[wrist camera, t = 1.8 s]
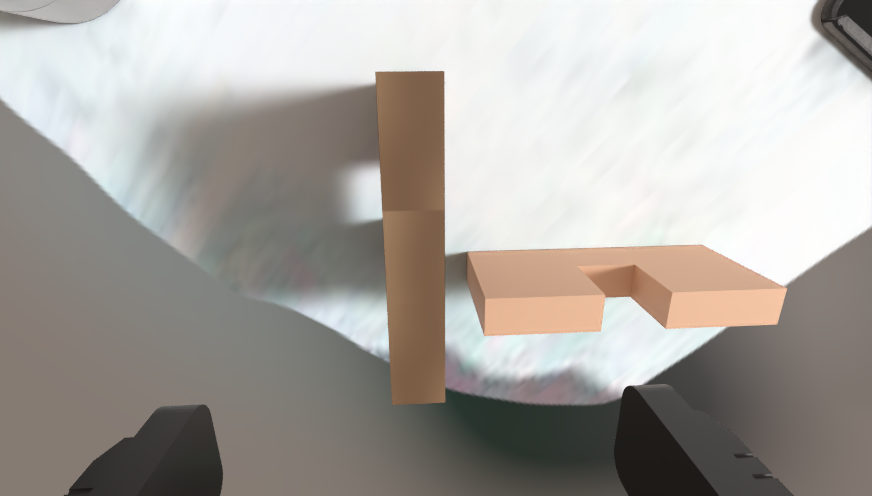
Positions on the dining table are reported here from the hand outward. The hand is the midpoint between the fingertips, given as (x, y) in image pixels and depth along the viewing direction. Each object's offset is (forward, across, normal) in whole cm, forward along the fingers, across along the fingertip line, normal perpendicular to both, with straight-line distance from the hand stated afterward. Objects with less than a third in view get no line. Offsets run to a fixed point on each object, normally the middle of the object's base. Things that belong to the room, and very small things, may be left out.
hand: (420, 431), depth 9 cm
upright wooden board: (+24, 0, 0) cm, 24 cm away
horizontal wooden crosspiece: (+24, -13, +6) cm, 28 cm away
